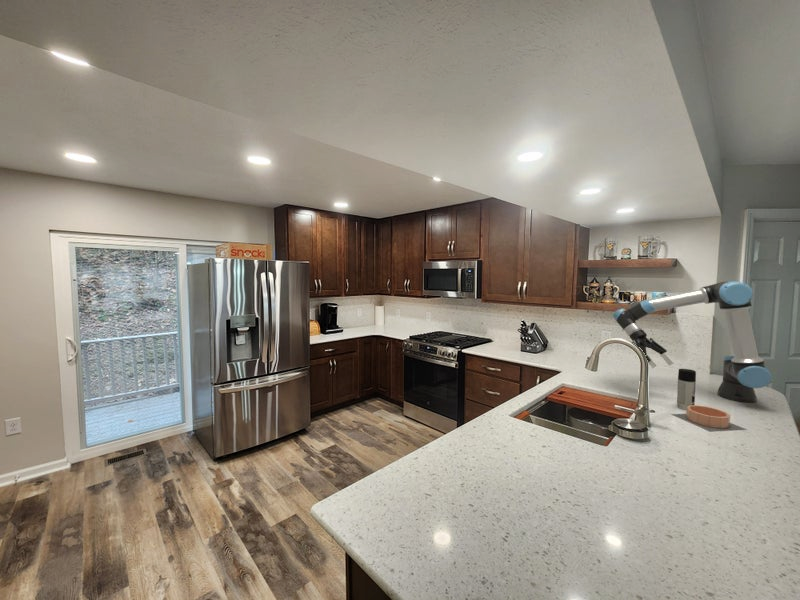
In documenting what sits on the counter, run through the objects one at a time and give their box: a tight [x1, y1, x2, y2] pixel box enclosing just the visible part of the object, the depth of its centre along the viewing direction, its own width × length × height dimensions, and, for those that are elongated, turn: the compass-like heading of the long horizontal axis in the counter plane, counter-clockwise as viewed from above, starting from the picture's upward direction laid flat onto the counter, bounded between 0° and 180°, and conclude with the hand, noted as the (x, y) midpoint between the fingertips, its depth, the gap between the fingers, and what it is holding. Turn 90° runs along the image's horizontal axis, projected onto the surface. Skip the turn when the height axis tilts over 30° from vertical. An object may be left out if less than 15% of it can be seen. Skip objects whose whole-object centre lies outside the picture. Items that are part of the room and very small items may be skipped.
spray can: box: [676, 368, 697, 411], centre depth 164 cm, size 7×7×20 cm
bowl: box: [685, 404, 731, 429], centre depth 149 cm, size 14×14×5 cm
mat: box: [670, 413, 748, 432], centre depth 149 cm, size 18×18×1 cm
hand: (663, 365), depth 174 cm, fingers open, 13 cm apart
